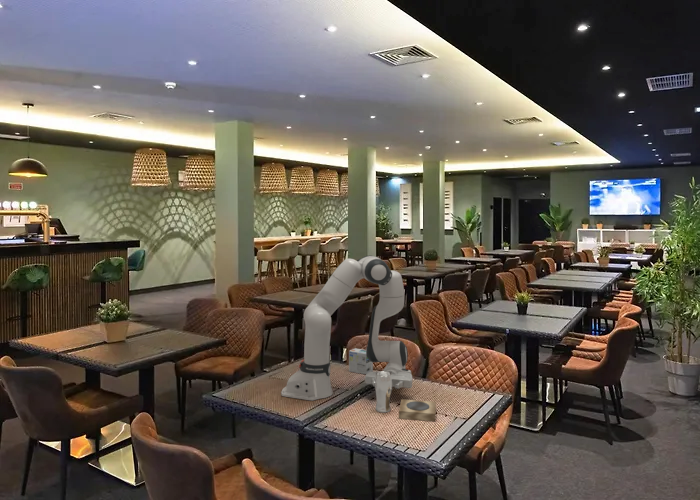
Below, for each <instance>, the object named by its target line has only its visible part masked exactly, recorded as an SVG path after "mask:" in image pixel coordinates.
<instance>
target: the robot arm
mask: <svg viewBox="0 0 700 500" xmlns="http://www.w3.org/2000/svg"><path fill="white" fill-rule="evenodd" d="M389 267H390V266H388V264H387V263H386V262H385V261H384V260H382V259H381V258H380V257H378V256H374V255H366V256H362V258H359V259H357V260H356V259H354V258H346V259H344V260H343V261H342V262H341V263H340V264H339V265H338V266H337V267H336V268H335V270H334V272H333V273H332V274H331V276H330V277H329V278H328V280H327V281H326V283H325V285H323V287H322V288H321V290H320V291H319V292H318V293H317V294H316V295H315V297H314V298H313V299H312V300H311V301H310V302H309V304H308V305H307V307H305V310H304V311H303V321H304V323H305V330H304V344H303V347H304V349H303V350H304V351H303V352H304V354H303V359H301V361H300V363H299V364H298V368H299V370H297V371H296V372H295V373H293V374H292V375H291V376H290V377H289V378H288V379H287V382H286V386H285V387H283V388H282V389H281V392H280V393H281V394H280V395H281V396H282V397H287V398H290V399H291V398H293V399H298V400H305V401H310V402H312V401H316V400H319V399H326V398H328V397H331V396H332V395H333V389H332V384H331V377H330V375H331V368H332V367H331V361H330V343H331V334H332V333H331V332H332V317H331V316H332V315H333V314H334V313H335V312H336V310H338V308H339V307H341V306H342V305H343V304H344V302H345V300H346V299H347V298H348V296H349V295H350V294H351V292H352V290H354V287H355V286H356V284H357V283H358V282H359V281H361V280H363V279H365V280H366V281H367V282H370V283H371V284H375V285H378V287H379V288H378V289H379V301H378V303H377V305H375V306H374V307H373V309H372V313H371V317H370V325H369V333H368V339H367V345H366V348H365V350H366V356H367V358H368V359H369V360H370V361H371V362H373V363H387V364H386V366H385V367H384V368H383V370H382V371H386V372H390V373H392V388H393V387H394V389H397V390H400V389H401V388H405V389H411V388H412V387H413V375H412V370H410V369H406V365H407V363H408V359H409V353H408V348H407V346H406V344H405V343H404V341H402V340H380V339H379V333H380V326H381V322H382V321H383V320H385V319H388V318H391V317H392V316H395V315H397V314H399V312H401V311H402V310H403V308H404V306H405V287H404V282H403V281H404V280H403V278H402V274H401V273H400V272H398V271H397V270H391V269H390V268H389ZM376 372H377V371H373V372H369V373H368V374H366V375H365V376H364V382H365V384H367V385H372V387H375V375H376Z"/></svg>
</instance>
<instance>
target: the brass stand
mask: <svg viewBox="0 0 700 500" xmlns="http://www.w3.org/2000/svg"><path fill="white" fill-rule="evenodd" d="M436 406H437V402H436V401H431V400H430V401H429V400H428V401H427V400H415V399H404V398H403V399H402V398H401V400H400V405H399V409H398V419H401V420H413V421H424V422H436V411H437V410H436V409H437V408H436Z"/></svg>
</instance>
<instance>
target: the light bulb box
mask: <svg viewBox="0 0 700 500" xmlns="http://www.w3.org/2000/svg"><path fill="white" fill-rule="evenodd" d="M348 372H352V373H357V374H360V373H361V375H365V374H368V373H369V372H374V364H373V362H371V361H370V360H369V359H368V358H367V356H366V349H362V348H356V347H355V348H352V349H350V350H349V351H348Z"/></svg>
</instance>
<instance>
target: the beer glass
mask: <svg viewBox="0 0 700 500" xmlns="http://www.w3.org/2000/svg"><path fill="white" fill-rule="evenodd" d="M375 372H376V375H375V386H374V390H375V397H376V405H375V412H378V413H382V414H383V413H385V414H386V413H389V412H391V410H392V409H391V401H390V400H391V395H392V390H393V387H392V373H390V372H386V371H383V370H382V371H381V370H380V371H375Z"/></svg>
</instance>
